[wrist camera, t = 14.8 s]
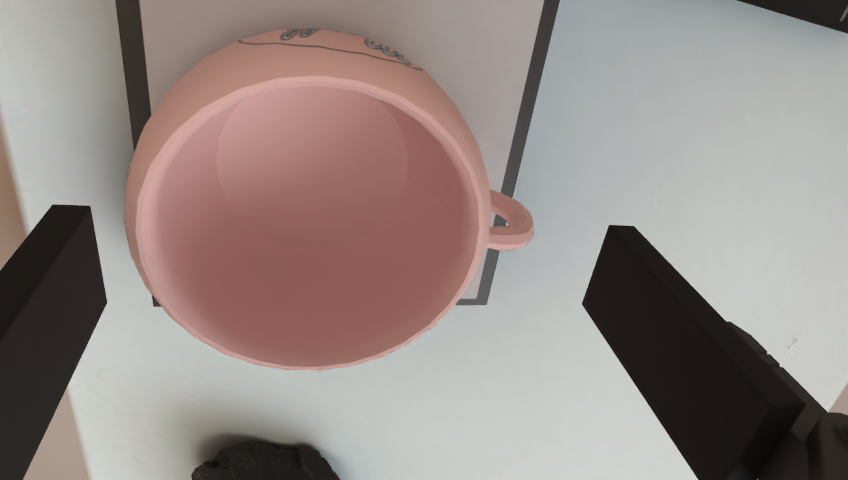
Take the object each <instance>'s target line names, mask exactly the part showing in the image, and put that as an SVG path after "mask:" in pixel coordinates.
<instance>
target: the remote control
mask: <svg viewBox="0 0 848 480" xmlns="http://www.w3.org/2000/svg"><path fill="white" fill-rule="evenodd" d="M738 1H741V2H744V3H748V4H751V5H754V6H758V7H761V8H764V9H768V10H771V11H774V12H778V13H781V14H784V15H788V16H791V17H794V18H798V19H801V20H804V21H808V22H811V23H814V24H818V25H821V26H824V27H828V28H831V29H834V30H838V31H841V32H844V33H848V0H738Z"/></svg>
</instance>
